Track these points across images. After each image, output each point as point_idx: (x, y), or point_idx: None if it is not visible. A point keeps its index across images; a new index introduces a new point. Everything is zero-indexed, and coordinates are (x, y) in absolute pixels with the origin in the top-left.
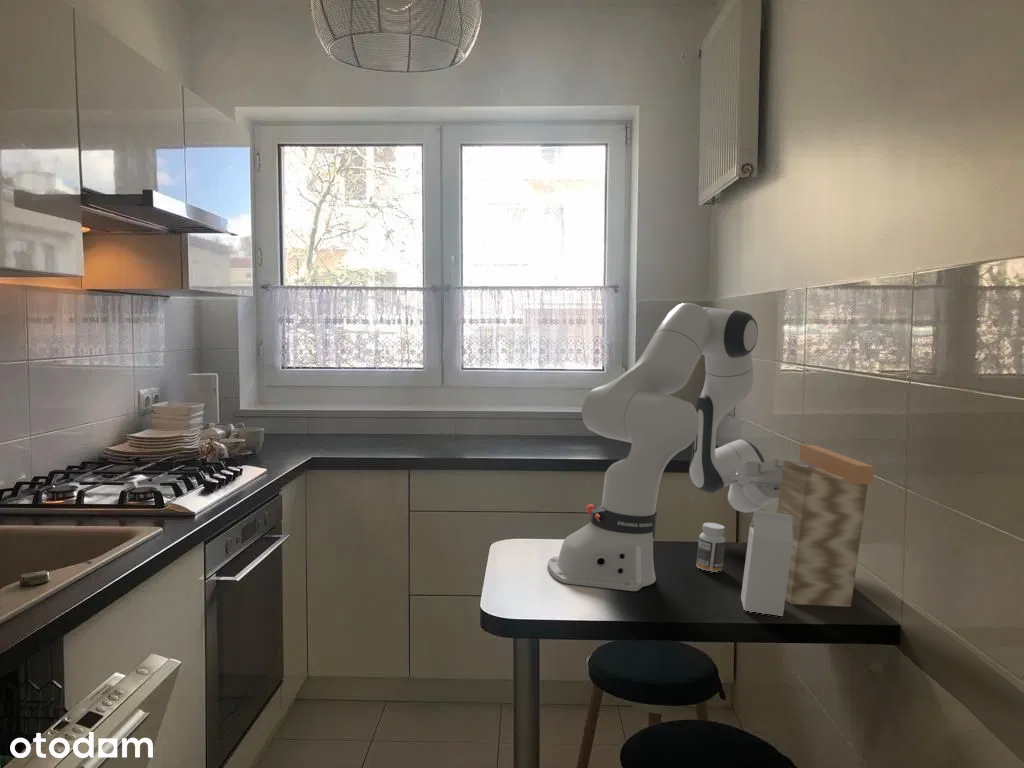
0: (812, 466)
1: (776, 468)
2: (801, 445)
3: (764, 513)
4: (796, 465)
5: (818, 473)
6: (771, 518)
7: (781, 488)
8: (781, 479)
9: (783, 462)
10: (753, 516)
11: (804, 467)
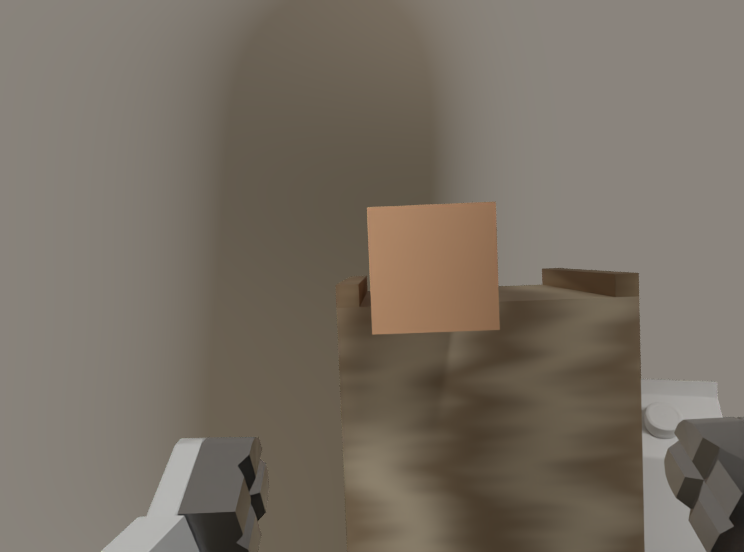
0: (255, 474)
1: (706, 529)
2: (494, 209)
3: (683, 384)
4: (584, 270)
5: (500, 290)
6: (660, 394)
7: (634, 402)
8: (639, 364)
9: (638, 281)
10: (717, 401)
11: (530, 299)
